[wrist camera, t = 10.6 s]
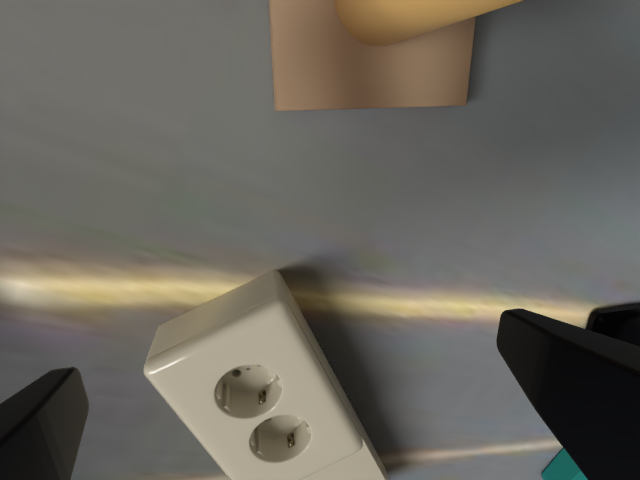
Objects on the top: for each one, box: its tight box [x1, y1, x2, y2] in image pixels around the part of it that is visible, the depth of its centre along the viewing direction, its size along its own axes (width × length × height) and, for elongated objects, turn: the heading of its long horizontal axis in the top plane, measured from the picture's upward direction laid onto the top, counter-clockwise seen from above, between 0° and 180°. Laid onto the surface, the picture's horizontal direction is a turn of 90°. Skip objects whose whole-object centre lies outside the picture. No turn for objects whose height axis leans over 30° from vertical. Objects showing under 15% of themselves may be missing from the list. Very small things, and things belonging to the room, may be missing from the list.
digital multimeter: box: [542, 448, 588, 480], centre depth 32 cm, size 7×15×3 cm, turn 54°
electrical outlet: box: [144, 270, 390, 480], centre depth 22 cm, size 7×4×18 cm
